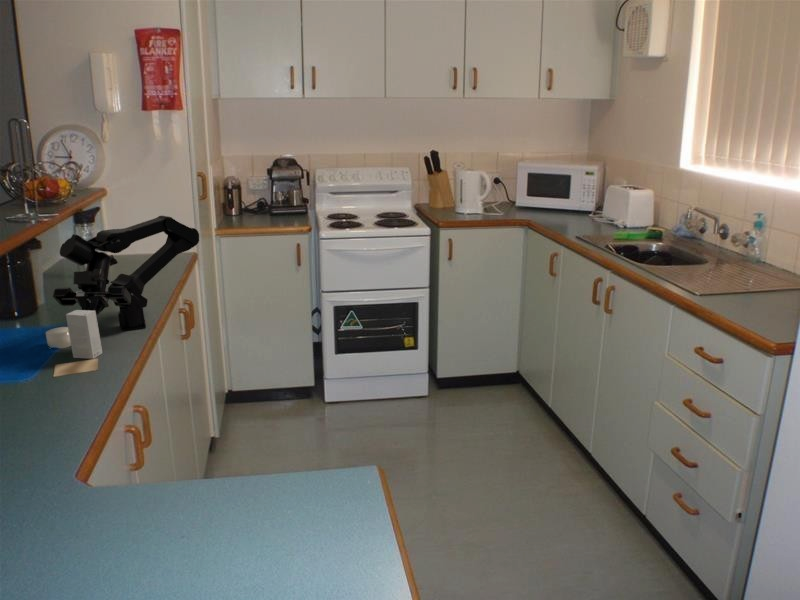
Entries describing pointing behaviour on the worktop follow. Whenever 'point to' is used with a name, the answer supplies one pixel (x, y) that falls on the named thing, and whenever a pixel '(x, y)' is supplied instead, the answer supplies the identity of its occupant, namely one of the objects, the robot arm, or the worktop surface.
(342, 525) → the worktop surface
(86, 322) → the skincare box
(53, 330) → the beige rounded piece
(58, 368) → the smooth tan tapered shape
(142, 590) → the worktop surface
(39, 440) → the worktop surface
